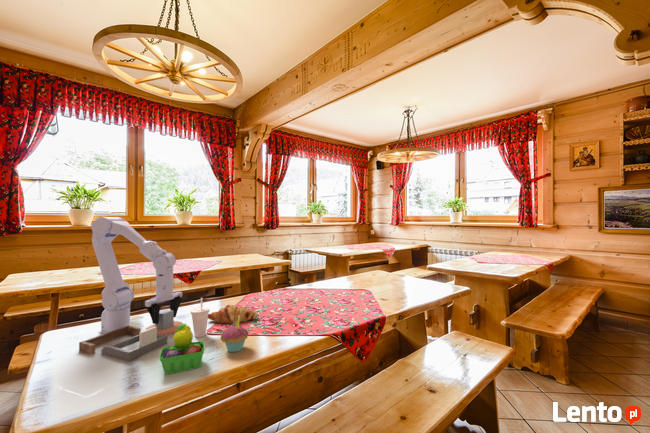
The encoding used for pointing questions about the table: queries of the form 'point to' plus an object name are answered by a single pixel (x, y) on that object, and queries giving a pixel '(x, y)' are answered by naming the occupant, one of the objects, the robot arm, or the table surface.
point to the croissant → (232, 314)
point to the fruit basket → (182, 352)
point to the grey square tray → (146, 344)
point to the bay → (106, 338)
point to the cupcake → (234, 337)
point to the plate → (168, 330)
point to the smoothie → (200, 320)
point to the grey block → (165, 319)
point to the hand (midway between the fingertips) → (164, 320)
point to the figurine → (235, 323)
